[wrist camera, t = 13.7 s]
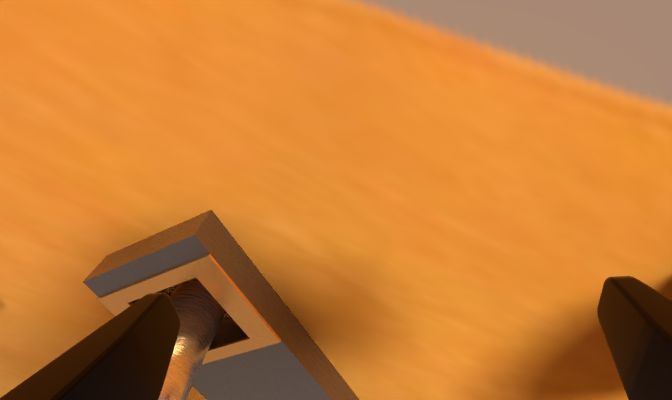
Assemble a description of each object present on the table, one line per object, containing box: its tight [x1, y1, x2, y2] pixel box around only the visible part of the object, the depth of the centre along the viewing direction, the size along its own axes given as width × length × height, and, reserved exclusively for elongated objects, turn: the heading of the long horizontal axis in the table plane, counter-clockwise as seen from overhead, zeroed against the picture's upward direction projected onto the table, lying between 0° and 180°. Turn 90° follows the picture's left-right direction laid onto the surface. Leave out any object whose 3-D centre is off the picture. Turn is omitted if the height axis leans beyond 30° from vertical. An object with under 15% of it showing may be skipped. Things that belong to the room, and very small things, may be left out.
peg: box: [158, 277, 225, 400], centre depth 22 cm, size 4×4×14 cm
